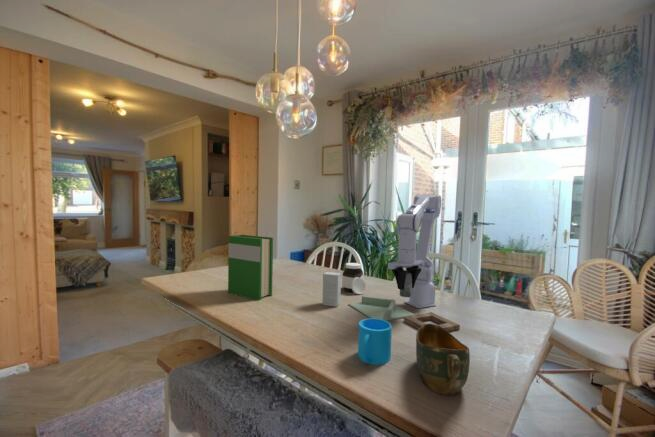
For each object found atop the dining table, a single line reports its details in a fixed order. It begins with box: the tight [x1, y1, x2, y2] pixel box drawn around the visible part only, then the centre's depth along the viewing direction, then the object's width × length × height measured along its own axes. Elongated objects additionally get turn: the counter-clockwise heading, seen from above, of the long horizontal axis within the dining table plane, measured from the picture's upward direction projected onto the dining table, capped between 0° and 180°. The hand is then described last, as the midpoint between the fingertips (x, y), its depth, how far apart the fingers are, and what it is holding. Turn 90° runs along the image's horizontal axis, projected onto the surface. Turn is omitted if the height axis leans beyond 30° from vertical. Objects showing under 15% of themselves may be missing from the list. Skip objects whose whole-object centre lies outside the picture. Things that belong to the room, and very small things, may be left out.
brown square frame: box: [403, 311, 461, 333], centre depth 98 cm, size 12×12×2 cm
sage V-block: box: [348, 295, 416, 322], centre depth 111 cm, size 16×19×3 cm
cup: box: [415, 323, 471, 396], centre depth 67 cm, size 13×20×10 cm, turn 146°
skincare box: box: [322, 271, 342, 308], centre depth 116 cm, size 6×4×12 cm
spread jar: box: [341, 262, 367, 295], centre depth 135 cm, size 12×11×12 cm
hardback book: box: [227, 234, 274, 301], centre depth 126 cm, size 18×7×24 cm, turn 60°
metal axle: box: [399, 271, 413, 298], centre depth 104 cm, size 4×4×8 cm
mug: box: [357, 318, 393, 366], centre depth 75 cm, size 12×8×8 cm
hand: (405, 288), depth 104 cm, fingers closed on metal axle, 4 cm apart
